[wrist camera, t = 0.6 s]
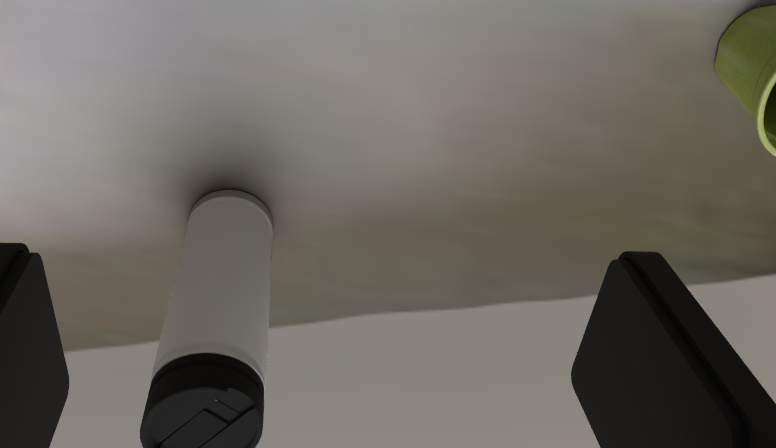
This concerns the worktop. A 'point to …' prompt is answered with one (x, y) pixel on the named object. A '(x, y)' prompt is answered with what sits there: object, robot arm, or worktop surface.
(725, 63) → the plant pot
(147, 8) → the worktop surface
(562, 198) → the worktop surface
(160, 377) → the travel mug
